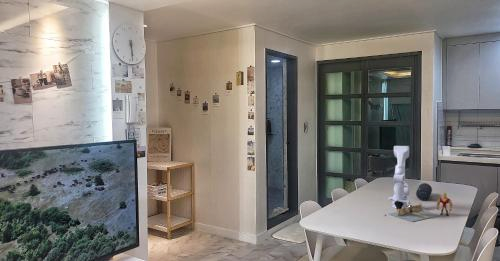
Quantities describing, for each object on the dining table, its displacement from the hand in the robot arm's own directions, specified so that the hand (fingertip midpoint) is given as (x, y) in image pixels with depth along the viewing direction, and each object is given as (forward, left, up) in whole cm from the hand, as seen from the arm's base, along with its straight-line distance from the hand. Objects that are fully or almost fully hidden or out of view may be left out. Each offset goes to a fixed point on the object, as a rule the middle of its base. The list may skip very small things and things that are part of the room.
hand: (399, 212), depth 236 cm
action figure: (+13, +26, -2) cm, 29 cm away
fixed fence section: (-1, +17, -1) cm, 17 cm away
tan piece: (+1, +3, -1) cm, 3 cm away
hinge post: (-1, +11, -2) cm, 11 cm away
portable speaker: (-24, +53, -2) cm, 59 cm away
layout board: (+4, +9, -2) cm, 10 cm away
